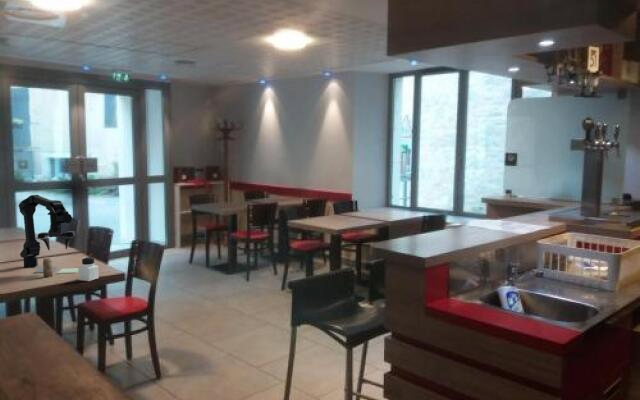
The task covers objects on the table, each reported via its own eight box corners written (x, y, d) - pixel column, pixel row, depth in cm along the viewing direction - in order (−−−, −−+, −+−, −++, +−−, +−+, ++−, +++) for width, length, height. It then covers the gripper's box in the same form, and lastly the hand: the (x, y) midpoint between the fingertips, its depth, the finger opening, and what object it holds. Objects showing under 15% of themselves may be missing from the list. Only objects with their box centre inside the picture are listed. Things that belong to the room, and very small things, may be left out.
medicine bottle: (98, 278, 274) (98, 256, 273) (89, 281, 268) (88, 259, 267) (88, 277, 277) (87, 255, 276) (78, 280, 270) (77, 258, 269)
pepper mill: (42, 277, 275) (41, 259, 274) (44, 275, 279) (43, 258, 278) (51, 277, 276) (50, 259, 275) (53, 275, 280) (52, 257, 279)
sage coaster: (57, 273, 283) (57, 272, 283) (62, 269, 293) (61, 268, 293) (76, 272, 286) (76, 271, 286) (80, 269, 296) (80, 268, 296)
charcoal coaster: (33, 273, 285) (33, 272, 284) (38, 269, 294) (38, 268, 294) (52, 272, 287) (52, 271, 287) (57, 268, 297) (57, 267, 297)
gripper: (33, 225, 277) (35, 253, 278) (70, 223, 281) (71, 251, 283) (39, 222, 288) (41, 249, 289) (75, 221, 292) (76, 247, 294)
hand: (57, 249), depth 288 cm, fingers open, 9 cm apart
